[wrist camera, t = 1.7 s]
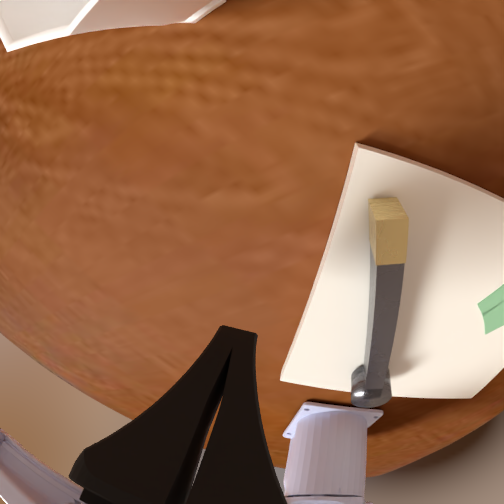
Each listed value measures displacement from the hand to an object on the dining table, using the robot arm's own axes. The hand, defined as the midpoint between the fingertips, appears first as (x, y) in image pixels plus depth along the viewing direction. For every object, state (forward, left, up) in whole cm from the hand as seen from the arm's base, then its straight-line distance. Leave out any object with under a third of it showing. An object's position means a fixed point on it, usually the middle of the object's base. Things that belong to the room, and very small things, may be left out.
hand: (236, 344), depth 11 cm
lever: (-2, -7, -5) cm, 9 cm away
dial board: (-2, -13, -6) cm, 14 cm away
